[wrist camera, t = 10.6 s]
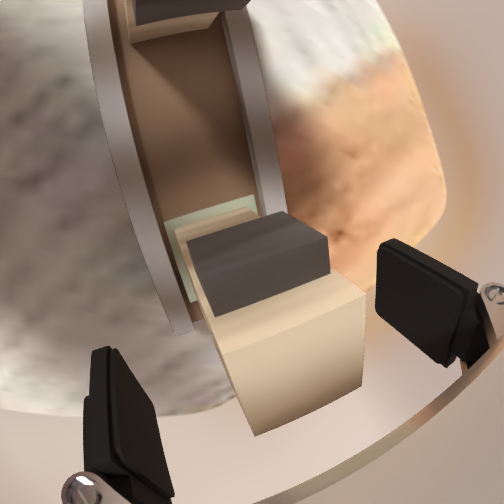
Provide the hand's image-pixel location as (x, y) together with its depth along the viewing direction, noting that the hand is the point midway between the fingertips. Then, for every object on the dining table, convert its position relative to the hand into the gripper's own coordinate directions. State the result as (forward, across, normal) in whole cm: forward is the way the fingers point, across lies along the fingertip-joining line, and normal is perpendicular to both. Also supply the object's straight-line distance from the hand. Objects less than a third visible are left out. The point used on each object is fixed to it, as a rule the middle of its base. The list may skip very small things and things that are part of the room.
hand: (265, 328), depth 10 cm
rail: (+11, -1, -5) cm, 12 cm away
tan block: (+8, 0, +1) cm, 8 cm away
